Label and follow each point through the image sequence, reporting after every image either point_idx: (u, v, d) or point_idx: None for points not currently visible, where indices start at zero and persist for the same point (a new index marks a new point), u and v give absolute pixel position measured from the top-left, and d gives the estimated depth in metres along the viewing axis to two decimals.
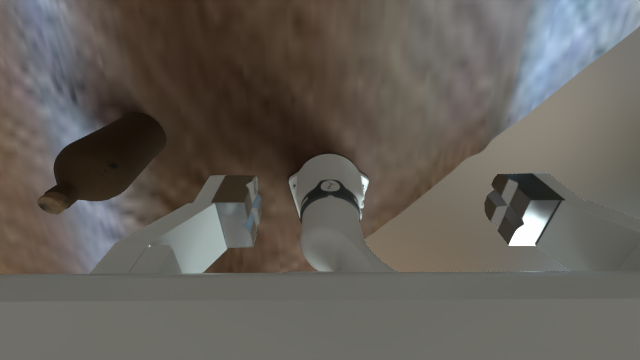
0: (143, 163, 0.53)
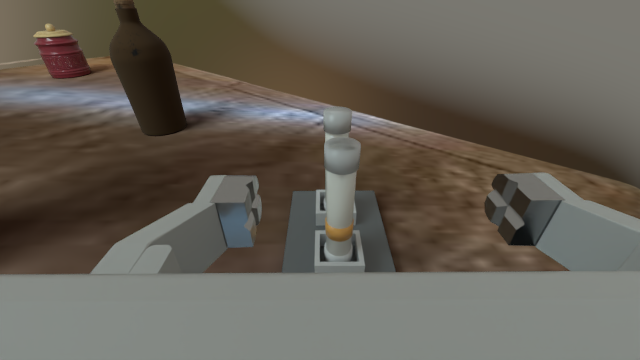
0: (130, 89, 0.56)
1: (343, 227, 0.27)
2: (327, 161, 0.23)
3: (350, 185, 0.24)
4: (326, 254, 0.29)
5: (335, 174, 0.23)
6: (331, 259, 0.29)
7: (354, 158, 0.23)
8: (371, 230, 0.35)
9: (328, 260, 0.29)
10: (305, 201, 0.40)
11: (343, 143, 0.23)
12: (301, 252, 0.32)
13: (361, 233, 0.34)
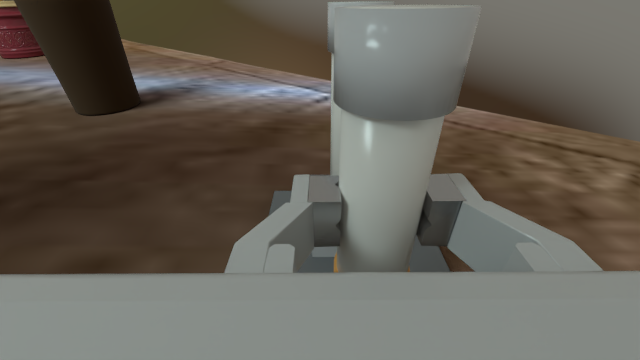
0: (45, 45, 0.38)
1: None
2: (347, 70, 0.06)
3: (424, 165, 0.07)
4: None
5: (375, 123, 0.06)
6: None
7: (461, 47, 0.05)
8: (421, 267, 0.18)
9: None
10: None
11: (405, 6, 0.06)
12: None
13: None
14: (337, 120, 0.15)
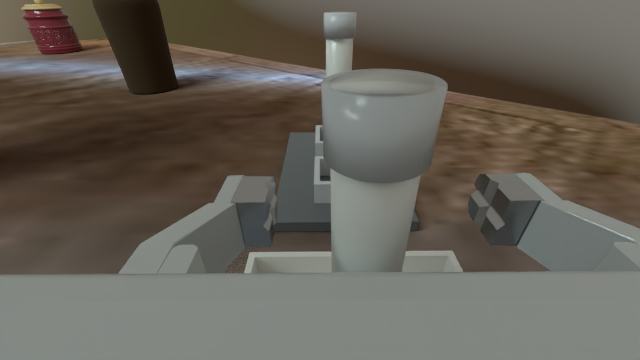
0: (115, 40, 0.52)
1: None
2: (332, 139, 0.07)
3: (405, 214, 0.08)
4: None
5: (359, 182, 0.07)
6: None
7: (430, 124, 0.06)
8: None
9: None
10: (303, 140, 0.36)
11: (383, 79, 0.07)
12: (298, 181, 0.28)
13: None
14: (329, 74, 0.28)
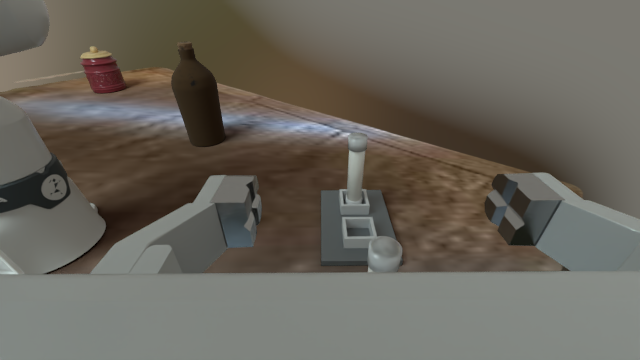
0: (186, 111, 0.70)
1: None
2: (371, 263, 0.26)
3: None
4: None
5: None
6: None
7: (397, 262, 0.25)
8: (380, 217, 0.49)
9: None
10: (331, 198, 0.54)
11: (385, 245, 0.26)
12: (332, 232, 0.46)
13: (373, 219, 0.49)
14: (350, 168, 0.47)
